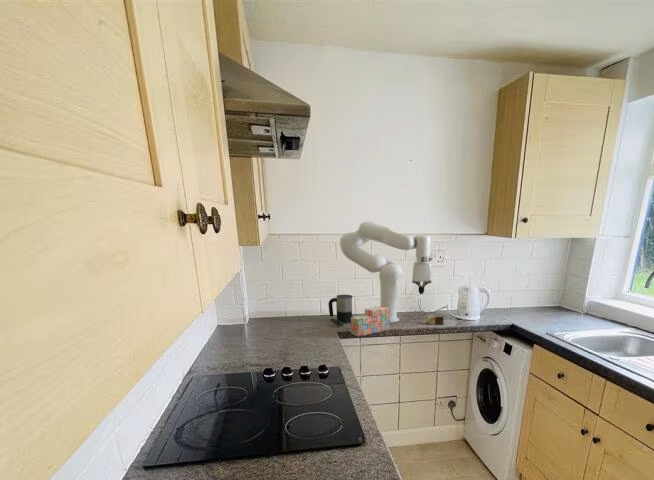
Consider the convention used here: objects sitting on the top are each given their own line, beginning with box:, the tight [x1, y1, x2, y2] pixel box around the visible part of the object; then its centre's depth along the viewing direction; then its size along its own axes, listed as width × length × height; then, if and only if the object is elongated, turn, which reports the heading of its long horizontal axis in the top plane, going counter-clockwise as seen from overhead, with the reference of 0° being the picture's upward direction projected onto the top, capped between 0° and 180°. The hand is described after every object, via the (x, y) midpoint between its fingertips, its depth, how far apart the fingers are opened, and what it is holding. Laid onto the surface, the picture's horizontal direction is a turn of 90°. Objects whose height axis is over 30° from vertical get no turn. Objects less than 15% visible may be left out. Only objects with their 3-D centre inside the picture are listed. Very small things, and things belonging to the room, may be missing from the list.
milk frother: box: [328, 294, 353, 326], centre depth 232 cm, size 14×16×15 cm
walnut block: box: [434, 314, 445, 326], centre depth 234 cm, size 4×4×4 cm
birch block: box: [426, 315, 436, 326], centre depth 234 cm, size 4×4×4 cm
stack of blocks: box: [350, 305, 391, 337], centre depth 215 cm, size 21×6×12 cm, turn 130°
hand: (421, 293), depth 228 cm, fingers closed
